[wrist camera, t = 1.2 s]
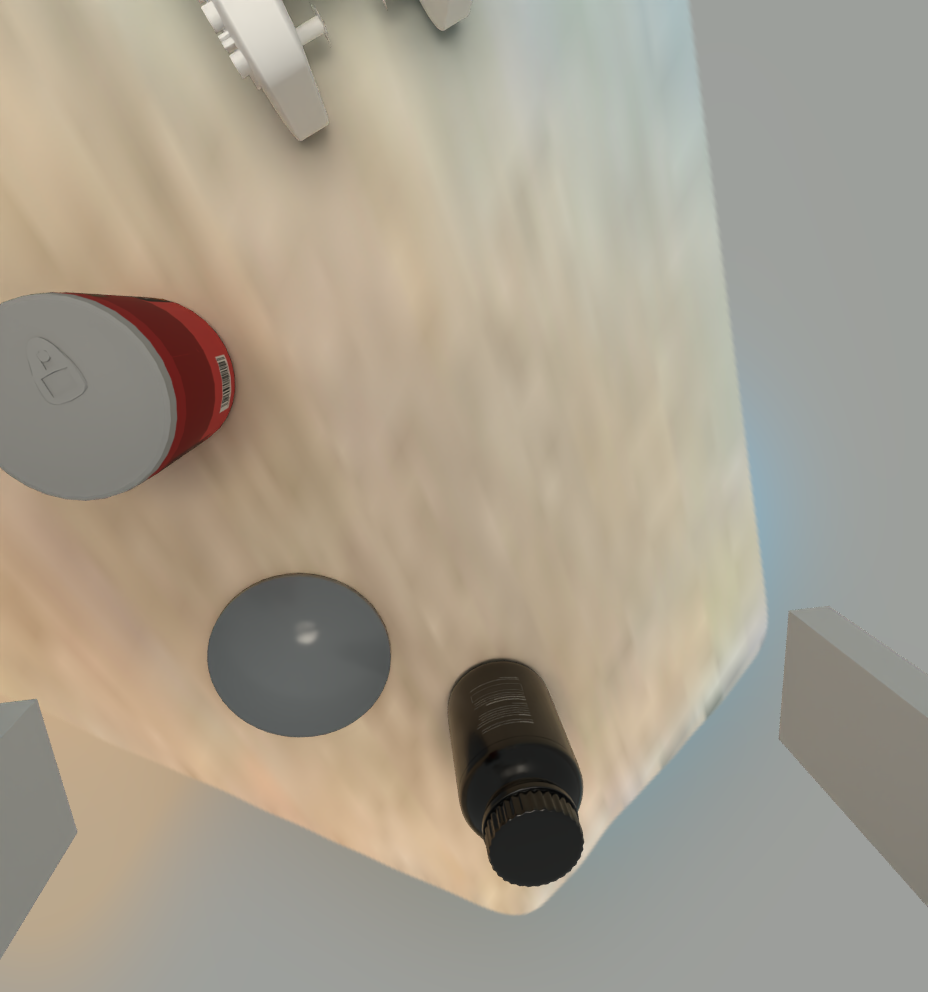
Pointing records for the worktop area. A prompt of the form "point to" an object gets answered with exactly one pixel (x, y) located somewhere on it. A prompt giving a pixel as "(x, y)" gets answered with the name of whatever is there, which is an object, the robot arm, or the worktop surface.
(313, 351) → the worktop surface
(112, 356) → the canned food
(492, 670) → the supplement bottle
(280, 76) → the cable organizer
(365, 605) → the coaster
